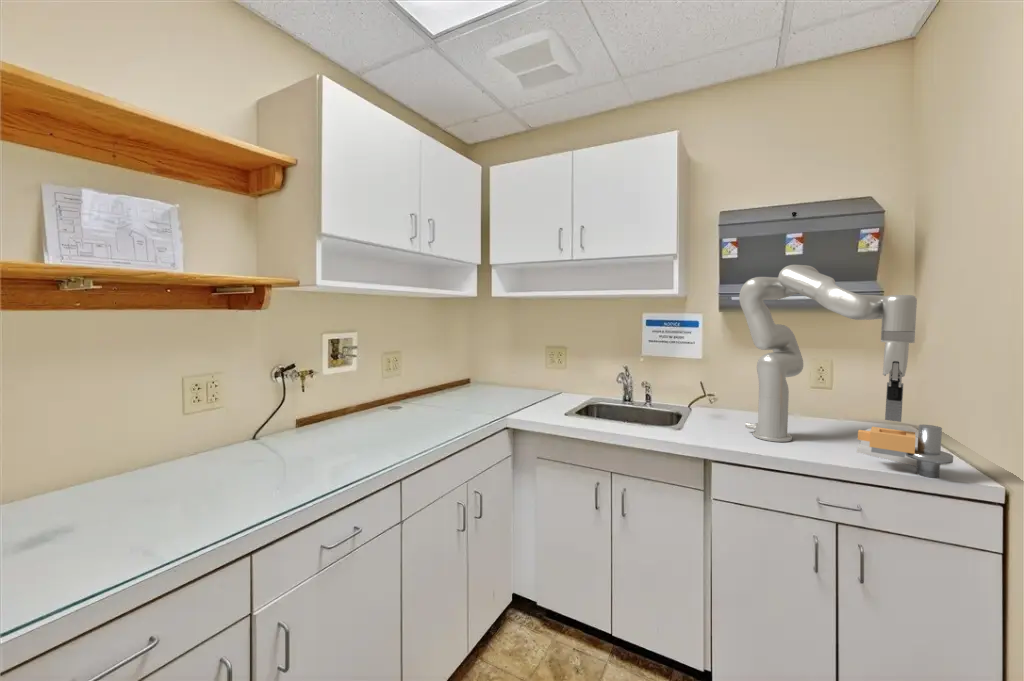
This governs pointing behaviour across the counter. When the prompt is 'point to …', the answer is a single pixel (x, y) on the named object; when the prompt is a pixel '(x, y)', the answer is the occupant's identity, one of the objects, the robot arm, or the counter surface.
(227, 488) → the counter surface
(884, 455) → the white curved casing
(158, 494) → the counter surface
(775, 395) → the robot arm
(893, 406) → the grey rectangular bar
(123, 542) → the counter surface
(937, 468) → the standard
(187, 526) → the counter surface
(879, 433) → the bracket
